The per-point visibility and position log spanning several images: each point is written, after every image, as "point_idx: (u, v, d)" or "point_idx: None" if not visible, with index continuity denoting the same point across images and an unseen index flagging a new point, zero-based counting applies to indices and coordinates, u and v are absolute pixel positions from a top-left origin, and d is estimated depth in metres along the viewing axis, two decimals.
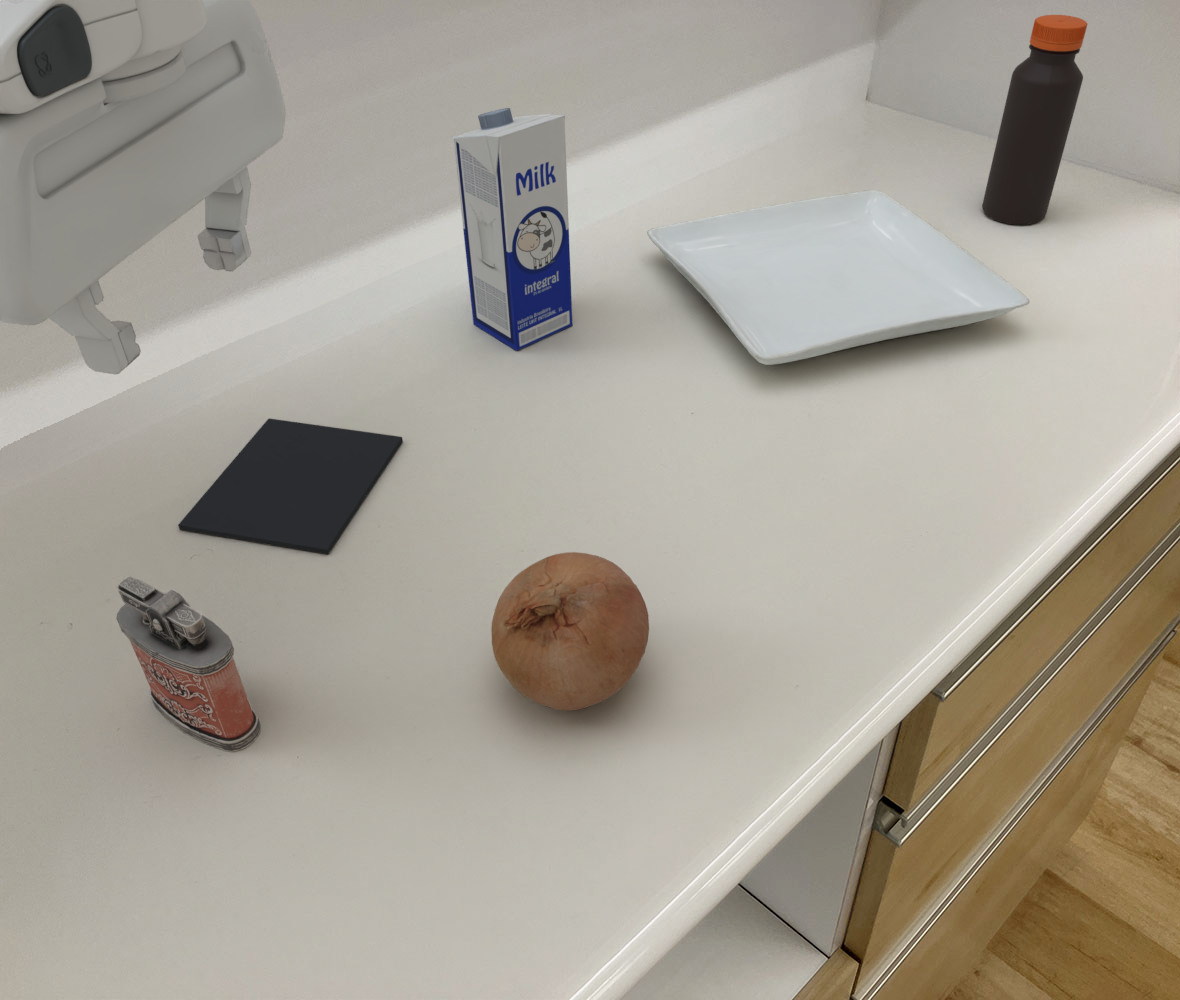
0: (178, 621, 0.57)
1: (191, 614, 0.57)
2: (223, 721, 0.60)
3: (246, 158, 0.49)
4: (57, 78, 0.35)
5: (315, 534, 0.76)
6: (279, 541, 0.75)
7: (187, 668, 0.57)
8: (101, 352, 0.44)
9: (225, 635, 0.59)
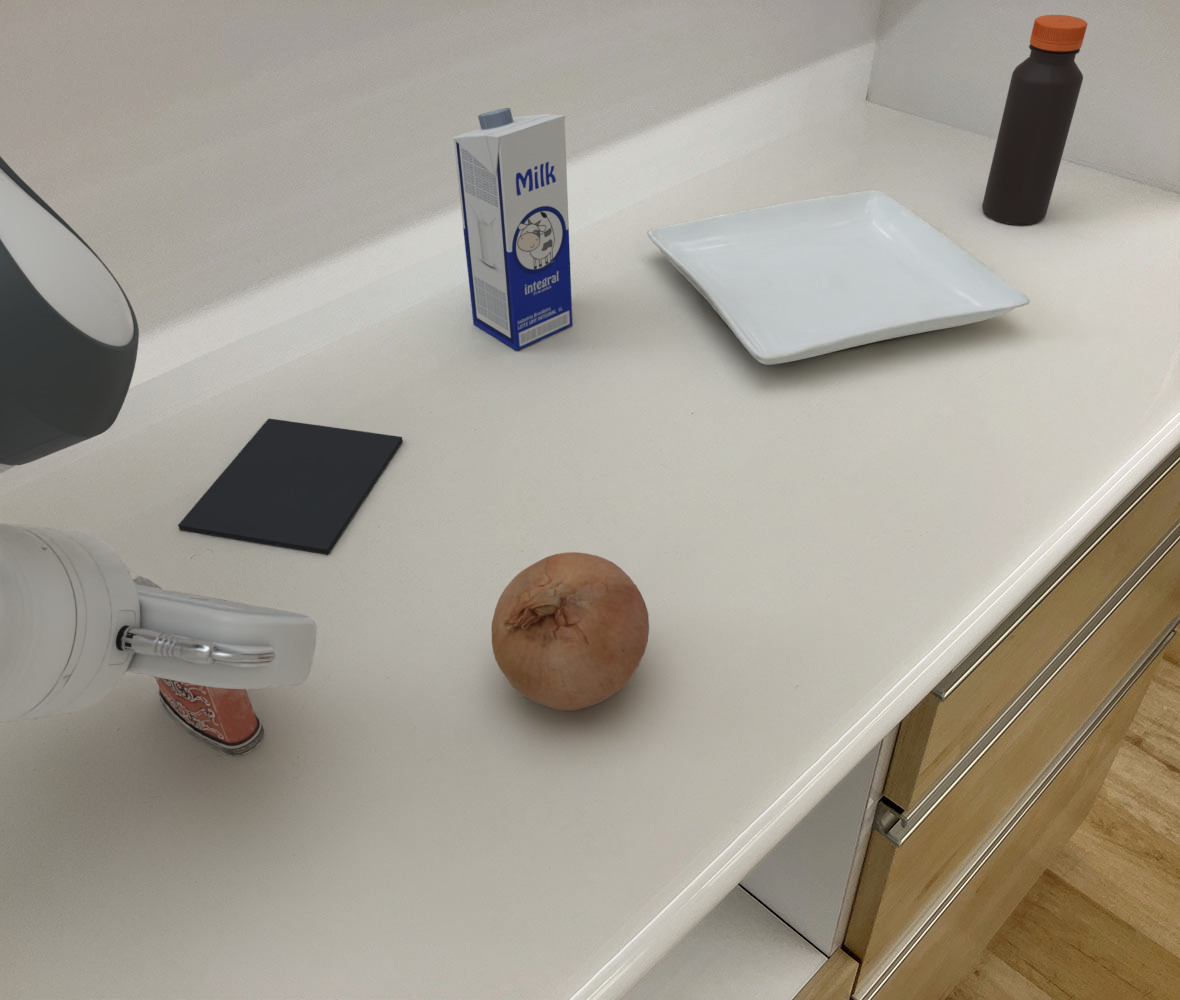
0: None
1: None
2: (225, 726, 0.60)
3: None
4: None
5: (315, 534, 0.76)
6: (279, 541, 0.75)
7: None
8: None
9: None
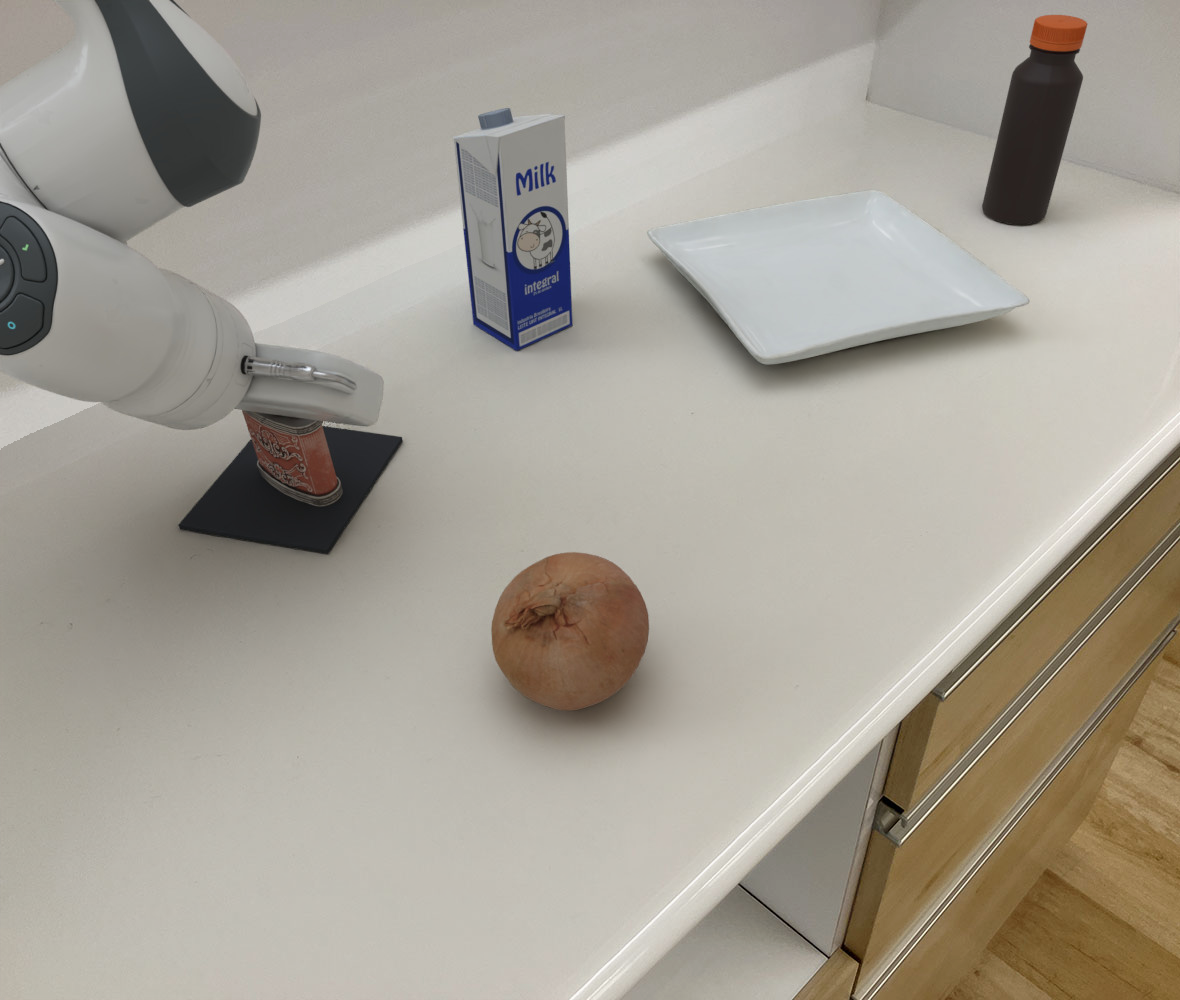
0: None
1: None
2: (314, 478, 0.77)
3: None
4: None
5: (315, 534, 0.76)
6: (279, 541, 0.75)
7: (287, 429, 0.74)
8: None
9: None
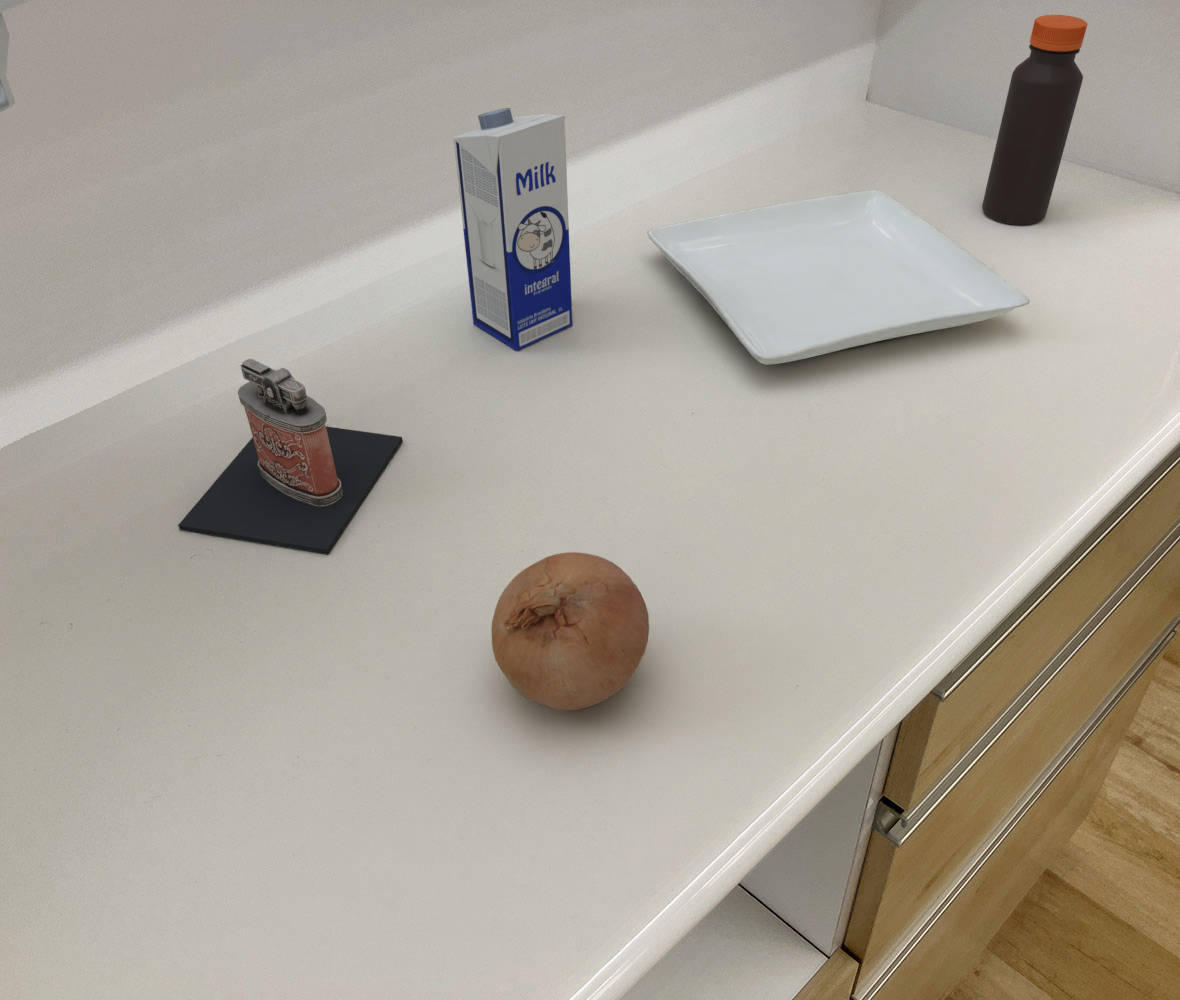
0: (286, 388, 0.73)
1: (296, 384, 0.74)
2: (315, 478, 0.77)
3: None
4: None
5: (315, 534, 0.76)
6: (279, 541, 0.75)
7: (290, 426, 0.74)
8: None
9: (320, 406, 0.75)
